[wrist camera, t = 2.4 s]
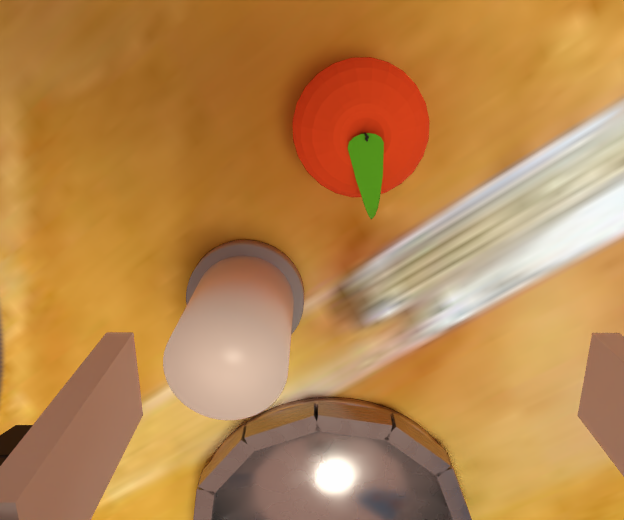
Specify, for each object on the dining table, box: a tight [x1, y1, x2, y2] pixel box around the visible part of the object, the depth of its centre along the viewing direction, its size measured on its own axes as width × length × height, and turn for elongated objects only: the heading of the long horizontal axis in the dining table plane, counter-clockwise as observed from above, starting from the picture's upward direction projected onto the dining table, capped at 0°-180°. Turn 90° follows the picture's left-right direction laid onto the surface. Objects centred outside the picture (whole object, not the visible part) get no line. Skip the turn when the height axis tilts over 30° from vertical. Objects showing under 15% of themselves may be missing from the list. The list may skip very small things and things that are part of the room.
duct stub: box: [163, 240, 304, 420], centre depth 31 cm, size 7×7×9 cm
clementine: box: [293, 57, 429, 219], centre depth 29 cm, size 8×7×7 cm
